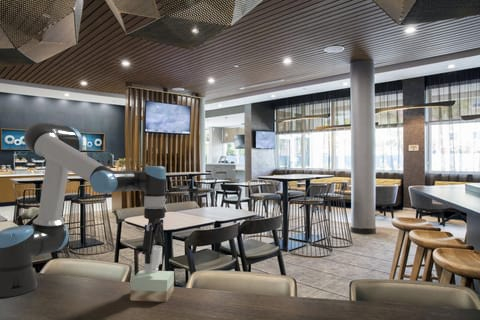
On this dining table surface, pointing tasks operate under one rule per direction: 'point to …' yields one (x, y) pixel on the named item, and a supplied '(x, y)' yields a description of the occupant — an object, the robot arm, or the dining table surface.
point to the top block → (152, 281)
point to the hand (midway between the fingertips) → (153, 267)
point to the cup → (156, 257)
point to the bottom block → (151, 295)
